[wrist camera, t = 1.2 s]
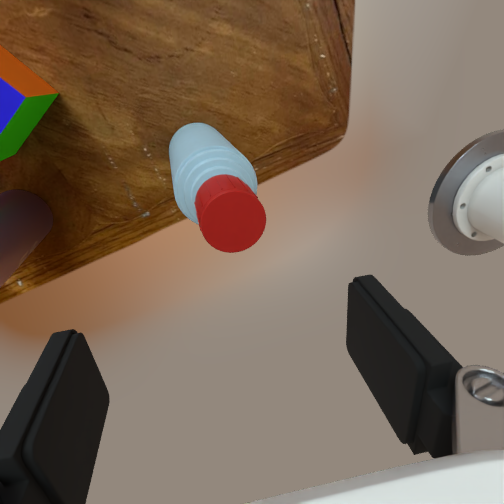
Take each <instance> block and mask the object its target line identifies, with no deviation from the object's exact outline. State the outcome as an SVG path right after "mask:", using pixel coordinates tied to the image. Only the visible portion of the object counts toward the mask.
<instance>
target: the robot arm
mask: <svg viewBox="0 0 504 504" xmlns="http://www.w3.org/2000/svg"><path fill="white" fill-rule="evenodd" d="M452 215H453V221H454V224H455V226H456V228H457V229H458V231H459V232H460V233H461V234H463V235H464V236H466V237H468V238H470V239H472V240H476V241H487V240H493V239H496V240H498V241H500V242H502V243H503V244H504V154H500V155H497V156H494V157H492V158H490V159H488V160H486V161H484V162H483V163H482V164H480V165H479V166H477V167H476V168H475V169H474V170H473V171H472V172H471V173H470V174H469V175H468V176H467V178H466V179H465V180H464V181H463V183H462V185H461V186H460V188H459V190H458V192H457V194H456V197H455V199H454V204H453V213H452ZM346 345H347V350H348V352H349V355H350V356H351V358H352V360H353V361H354V363H355V365H356V367H357V368H358V370H359V372H360V373H361V375H362V377H363V378H364V380H365V382H366V383H367V385H368V387H369V389H370V391H371V392H372V394H373V396H374V397H375V399H376V401H377V402H378V404H379V406H380V408H381V409H382V411H383V413H384V414H385V416H386V418H387V419H388V421H389V423H390V425H391V426H392V428H393V430H394V432H395V433H396V435H397V437H398V438H399V440H400V441H401V442H402V443H403V444H406V443H407V444H408V445H409V447H410V449H411V450H412V452H413V454H414V455H415V454H419V453H424V452H429V453H430V455H431V456H432V457H433V458H435V459H431V460H426V461H422V462H417V463H412V464H408V465H404V466H399V467H394V468H390V469H386V470H381V471H377V472H373V473H369V474H365V475H360V476H356V477H352V478H348V479H344V480H340V481H335V482H331V483H328V484H323V485H319V486H314V487H311V488H306V489H302V490H298V491H294V492H290V493H286V494H282V495H277V496H274V497H269V498H265V499H261V500H257V501H253V502H249V503H245V504H504V373H502V372H500V371H498V370H496V369H493V368H490V367H486V366H480V365H471V366H466V367H462V366H461V365H460V364H459V363H458V362H457V361H456V360H455V359H454V357H453V356H452V355H451V354H450V353H449V352H448V351H447V350H446V349H445V348H444V347H443V346H442V345H441V344H440V343H439V342H438V341H437V340H436V339H435V337H433V335H432V334H431V333H430V332H429V331H428V330H427V329H426V328H425V327H424V326H423V325H422V324H421V323H420V322H419V321H418V320H417V319H416V317H414V315H413V314H412V313H411V312H409V311H408V310H407V309H404V308H403V307H402V306H401V305H400V304H399V303H398V302H397V301H396V299H394V297H393V296H392V295H391V294H390V293H389V292H388V291H387V290H386V289H385V288H384V287H383V286H382V284H381V283H380V282H379V281H378V280H377V279H376V278H375V277H374V276H373V275H365V276H360V277H355V278H354V279H353V282H352V283H349V285H348V310H347V337H346ZM108 406H109V393H108V390H107V388H106V385H105V383H104V381H103V379H102V376H101V374H100V371H99V369H98V367H97V364H96V362H95V360H94V358H93V355H92V353H91V351H90V348H89V346H88V344H87V342H86V339H85V337H84V335H83V334H82V333H77V331H75V330H74V329H72V330H67V331H61V332H56V333H53V334H52V336H51V337H50V339H49V341H48V343H47V345H46V347H45V349H44V351H43V352H42V354H41V356H40V358H39V360H38V362H37V364H36V366H35V368H34V370H33V372H32V373H31V375H30V377H29V379H28V381H27V383H26V385H24V387H23V388H22V390H21V392H20V394H19V396H18V398H17V399H16V401H15V403H14V405H13V407H12V409H11V411H10V413H9V415H8V416H7V418H6V420H5V422H4V424H3V426H2V428H1V430H0V504H85V503H86V498H87V494H88V490H89V486H90V482H91V477H92V474H93V469H94V465H95V461H96V457H97V452H98V448H99V444H100V440H101V435H102V431H103V427H104V423H105V419H106V415H107V410H108Z"/></svg>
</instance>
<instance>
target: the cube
mask: <svg viewBox="0 0 504 504" xmlns="http://www.w3.org/2000/svg"><path fill="white" fill-rule="evenodd" d="M58 94H59V92H58V91H56V90H55V89H54V88H53V87H51V86H50V85H49V84H48V83H46V82H45V81H44V80H43V79H42V78H40V77H39V76H38V75H37V74H35V73H34V72H33V71H32V70H30V69H29V68H28V67H27V66H26V65H24V64H23V63H22V62H21V61H19V60H18V59H17V58H16V57H15V56H13V55H12V54H11V53H10V52H8V51H7V50H6V49H5V48H3V47H2V46H1V45H0V161H2V160H4V159H6V158H8V157H10V156H13V155H15V154H16V153H17V151H18V150H19V149H20V147H21V146H22V144H23V143H24V142H25V140H26V139H27V137H28V136H29V135H30V133H31V132H32V130H33V129H34V128H35V126H36V125H37V123H38V122H39V121H40V119H41V118H42V116H43V115H44V114H45V112H46V111H47V110H48V108H49V107H50V105H51V104H52V103H53V101H54V100H55V98H56V97H57V96H58Z"/></svg>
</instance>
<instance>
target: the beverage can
mask: <svg viewBox="0 0 504 504" xmlns="http://www.w3.org/2000/svg"><path fill="white" fill-rule="evenodd" d="M52 225H53V215H52V212H51V210H50V208H49V207H48V205H47V204H46V203H45V202H44V201H43V200H42V199H41V198H40V197H38V196H37V195H35V194H33V193H31V192H28V191H24V190H9V191H5V192H3V193H1V194H0V287H1V286H2V285H3V284H4V283H5V282H6V280H7V279H8V278H9V277H10V276H11V275H12V274H13V273H14V271H15V270H16V269H17V268H18V267H19V266H20V265H21V263H22V262H23V261H24V260H25V259H26V258H27V257H28V256H29V254H30V253H31V252H32V251H33V250H34V249H35V248H36V247H37V245H38V244H39V243H40V242H41V241H42V240H43V239H44V237H45V236H46V235H47V234H48V233H49V232H50V230H51V228H52Z"/></svg>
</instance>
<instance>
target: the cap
mask: <svg viewBox="0 0 504 504" xmlns="http://www.w3.org/2000/svg"><path fill="white" fill-rule="evenodd" d="M257 198H258V197H257V196H256V195H255V193H254V192H253V191H252V190H251V188H250V187H249V186H248V185H247V184H245V183H244V182H243V181H242V180H241V179H239V177H235V176H233V175H227V174H222V175H216V176H213V177H211V178H209V179H208V180H206V181H205V182H204V183H203V184H202V185H201V186H200V188H199V189H198V191H197V194H196V198H195V202H194V204H195V208H196V212H197V213H196V215H197V219H198V223H199V226H200V230H201V231H202V233H203V236H204V238H205V239H206V241H207V242H208V243H209V244H210V245H211V246H212V247H214V248H215V249H217V250H220V251H223V252H229V253H231V252H232V253H233V252H239V251H243V250H245V249H247V248H249V247H251V246H252V245H254V244H255V243H256V242H257V241H258V240H259V238H260V237H261V235H262V234H263V231H264V229H265V225H266V214H265V210H264V208H263V206H262V204H261V203H260V201H259V200H258V199H257Z"/></svg>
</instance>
